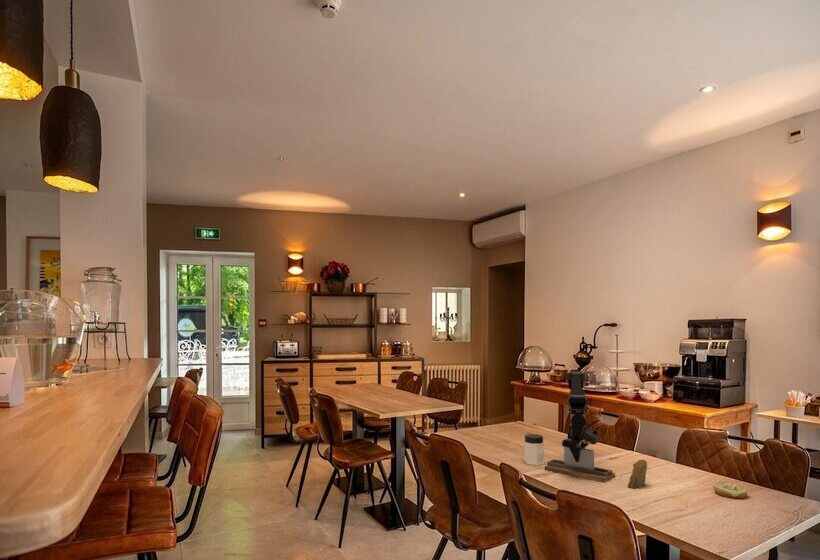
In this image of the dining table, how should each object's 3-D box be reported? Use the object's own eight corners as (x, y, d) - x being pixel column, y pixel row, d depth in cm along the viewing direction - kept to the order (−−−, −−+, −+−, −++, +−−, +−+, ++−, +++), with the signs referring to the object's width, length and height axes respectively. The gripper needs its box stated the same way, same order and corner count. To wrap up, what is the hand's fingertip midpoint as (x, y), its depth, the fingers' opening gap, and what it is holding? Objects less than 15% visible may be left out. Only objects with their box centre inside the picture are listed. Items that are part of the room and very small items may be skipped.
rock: (635, 485, 196) (657, 479, 199) (623, 463, 202) (645, 458, 204) (622, 495, 204) (644, 489, 207) (611, 474, 210) (632, 468, 212)
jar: (534, 466, 229) (533, 438, 230) (520, 462, 236) (520, 435, 237) (548, 463, 234) (547, 436, 235) (534, 459, 241) (534, 433, 242)
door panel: (567, 464, 224) (566, 445, 225) (594, 469, 216) (593, 450, 217) (564, 465, 222) (564, 446, 223) (591, 471, 214) (591, 451, 215)
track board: (556, 464, 232) (556, 458, 232) (614, 476, 215) (614, 469, 215) (544, 470, 224) (544, 463, 224) (604, 482, 206) (604, 474, 207)
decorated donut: (739, 502, 185) (738, 491, 186) (708, 493, 194) (707, 483, 194) (752, 496, 191) (752, 485, 192) (721, 488, 200) (721, 478, 200)
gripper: (587, 429, 209) (588, 469, 207) (605, 422, 222) (606, 460, 221) (561, 425, 216) (561, 464, 215) (580, 419, 230) (581, 455, 229)
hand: (578, 461), depth 220 cm, fingers closed on door panel, 2 cm apart
